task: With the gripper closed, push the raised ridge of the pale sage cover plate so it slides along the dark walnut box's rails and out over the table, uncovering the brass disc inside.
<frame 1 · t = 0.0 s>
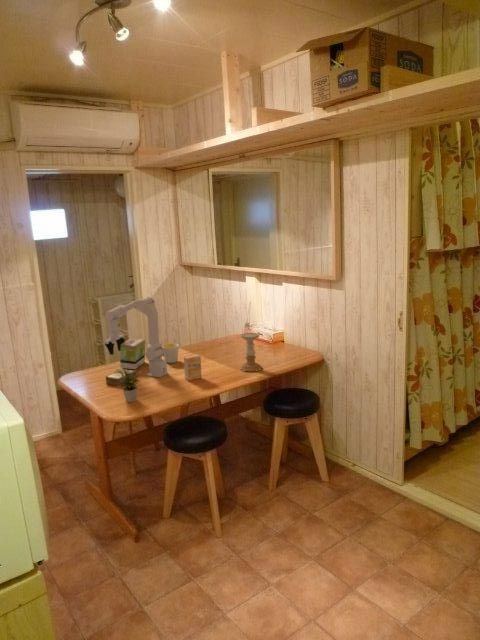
hand: (115, 352, 281), 10 cm above the table, fingers open, 7 cm apart
candle holder: (251, 369, 275), on the table
cover plate: (120, 372, 261), point 5 cm above the table, slide at 0.0 cm
house plant: (128, 400, 236), on the table
tea box: (132, 365, 288), on the table, touching gripper
walnut box: (121, 381, 262), on the table
supplement box: (193, 379, 262), on the table
mug: (170, 361, 294), on the table
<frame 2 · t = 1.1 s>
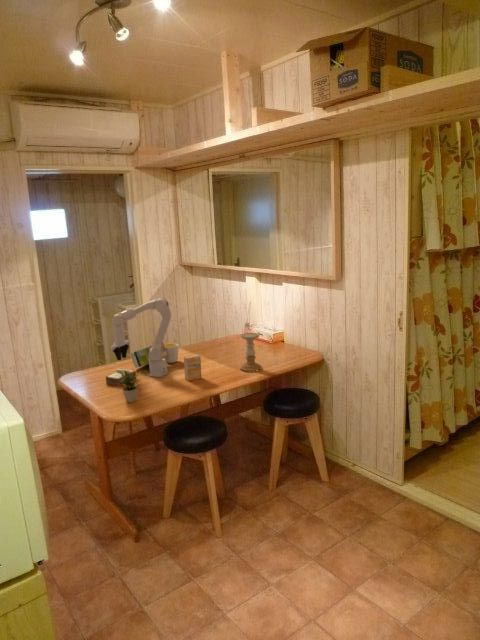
hand: (121, 358, 267), 10 cm above the table, fingers open, 4 cm apart
tea box: (140, 358, 287), point 5 cm above the table, touching arm, mug
mug: (170, 361, 294), on the table, touching tea box
everything else where it was.
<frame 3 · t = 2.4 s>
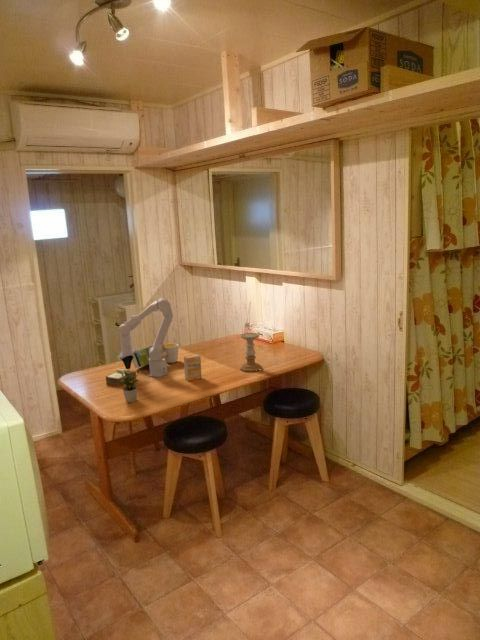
hand: (128, 368, 267), 5 cm above the table, fingers closed
nothing on the table moved.
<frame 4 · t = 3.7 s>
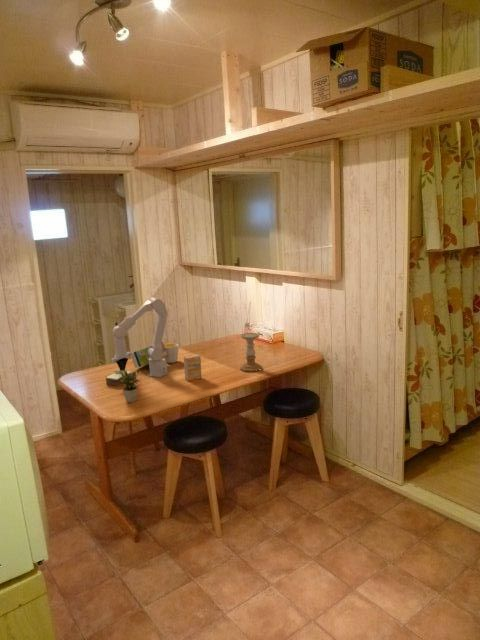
hand: (122, 371, 263), 5 cm above the table, fingers closed
cover plate: (119, 373, 260), point 5 cm above the table, slide at 1.2 cm, touching gripper
everything else where it was.
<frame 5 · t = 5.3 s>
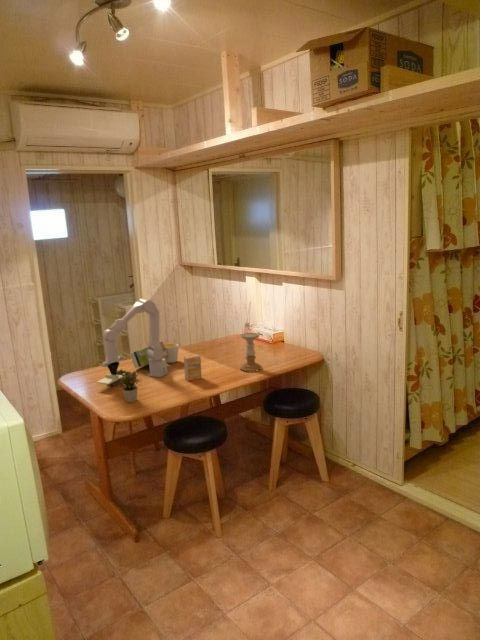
hand: (114, 375, 257), 5 cm above the table, fingers closed
cover plate: (110, 377, 254), point 5 cm above the table, slide at 8.5 cm, touching gripper
everything else where it was.
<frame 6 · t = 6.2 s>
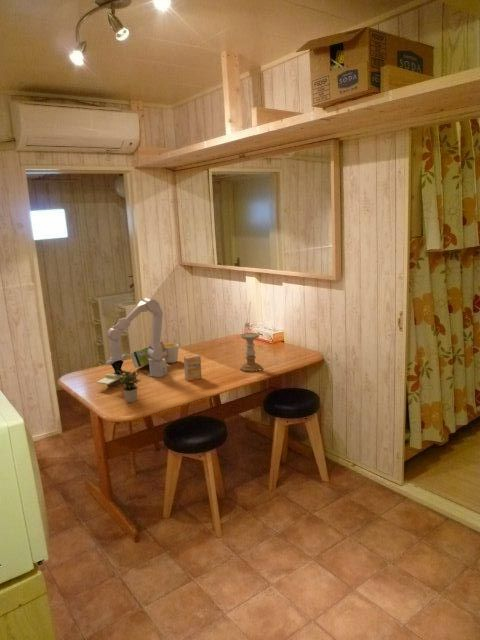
hand: (118, 374, 259), 5 cm above the table, fingers closed
cover plate: (110, 377, 254), point 5 cm above the table, slide at 8.5 cm
everything else where it was.
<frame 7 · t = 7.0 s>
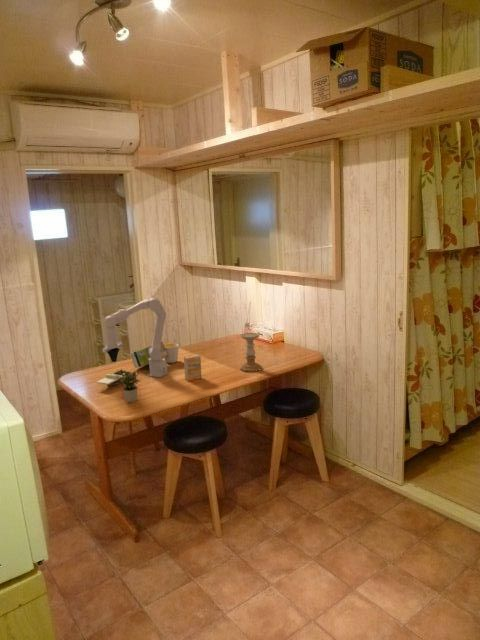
hand: (114, 361, 263), 10 cm above the table, fingers closed
nothing on the table moved.
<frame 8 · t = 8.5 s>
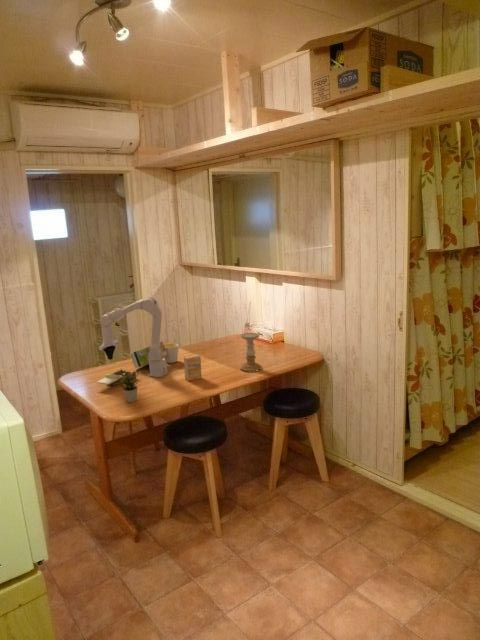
hand: (110, 359, 268), 10 cm above the table, fingers closed
nothing on the table moved.
at the end: cover plate slide at 8.5 cm; cover plate 0.0 cm from the target spot on the table beside the walnut box, resting on walnut box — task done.
